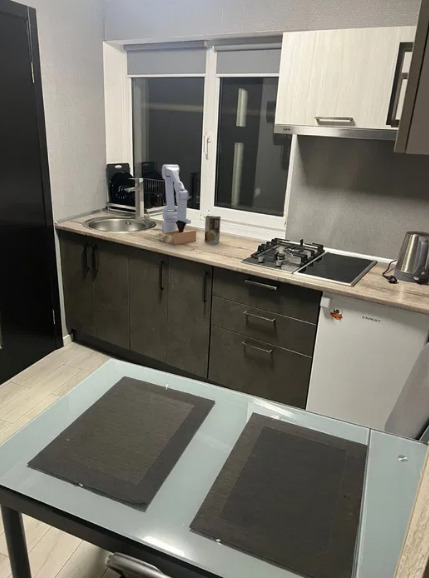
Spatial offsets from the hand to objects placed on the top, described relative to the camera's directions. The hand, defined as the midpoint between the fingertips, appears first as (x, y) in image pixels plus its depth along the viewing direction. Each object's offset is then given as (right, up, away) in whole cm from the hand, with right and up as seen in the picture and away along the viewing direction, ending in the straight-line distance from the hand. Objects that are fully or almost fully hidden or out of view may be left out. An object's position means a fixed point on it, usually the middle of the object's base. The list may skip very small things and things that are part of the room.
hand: (180, 233), depth 263 cm
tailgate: (+3, -6, -1) cm, 7 cm away
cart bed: (-3, -4, +4) cm, 7 cm away
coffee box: (+19, -5, +6) cm, 21 cm away
